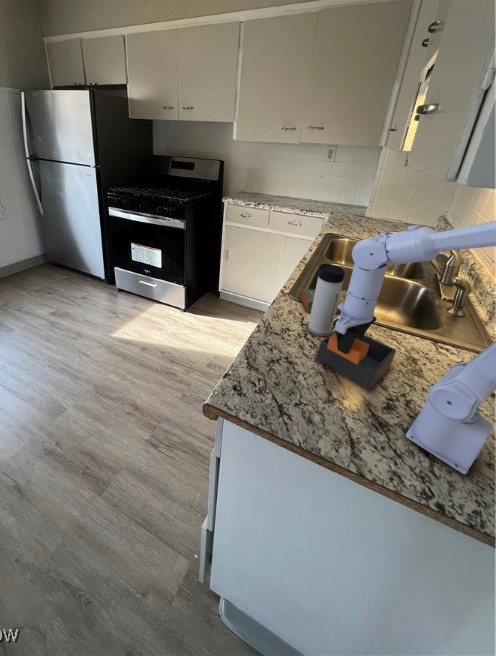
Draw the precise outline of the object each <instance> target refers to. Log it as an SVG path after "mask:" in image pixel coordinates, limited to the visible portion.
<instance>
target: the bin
mask: <svg viewBox="0 0 496 656" xmlns="http://www.w3.org/2000/svg"><path fill="white" fill-rule="evenodd" d="M335 333H336V332H335V330H334V331H332V332H331V333H330V334H329V335H328V336H325V338H323V339H322V340H320V342H319V347H318V351H317V356H316V360H317V361H319V362H320V363H322V364H324V365H325V366H327V367H329V368H330V369H332V370H334V371H335V372H337V373H339V374H340V375H342V376H344V377H345V378H347V379H348V380H351V381H352V382H354V383H355V384H357V385H359V386H360V387H362V388H364V389H366V390H367V391H369V392H370V391H371V390H372V389H373V388H374V387H375V385H376V384H377V383H379V381H380V380H381V379H382V377H384V375H385V374H386V373H387V372H388V371H389V370H390V368H391V367H392V363H393V360H394V358H395V356H396V352H397V349H396V348H393V347H391V346H389V345H387V344H385V343H383V342H381V341H378V340H377V339H374V338H372V337H370V336H368V335H367V334H364V336H363V337H362V339H361V341H363V342H365V343H367V344H369V348H368V351H367V355H366V356H365V357H364V358H363V359H362V360H361V361H360V362H359V363H358V364H355V363H353V362H352V361H350V360H348V359H346V358H344V357H342V356H341V355H339V354H337V353H335V352H333V351H332V350H330V349H328V348H327V346H328V342H329V338H330V337H331V336H332V335H333V334H335Z"/></svg>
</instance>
